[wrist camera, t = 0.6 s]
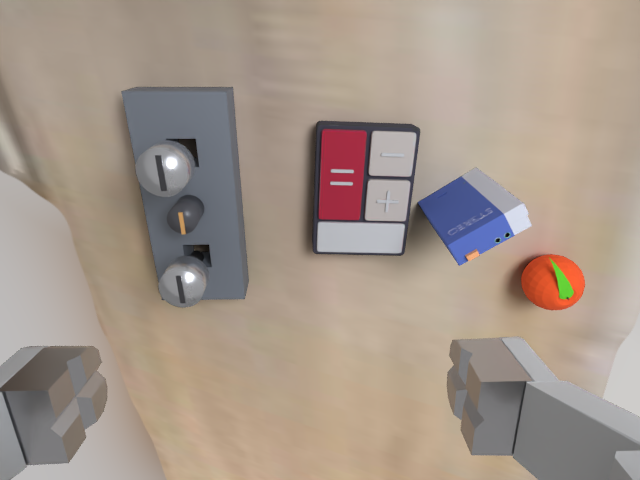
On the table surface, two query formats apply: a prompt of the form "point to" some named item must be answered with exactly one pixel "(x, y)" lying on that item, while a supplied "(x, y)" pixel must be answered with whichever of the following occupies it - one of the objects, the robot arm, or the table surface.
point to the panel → (195, 179)
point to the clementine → (553, 282)
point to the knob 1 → (165, 168)
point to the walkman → (474, 215)
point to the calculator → (363, 187)
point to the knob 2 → (184, 280)
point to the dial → (185, 214)
